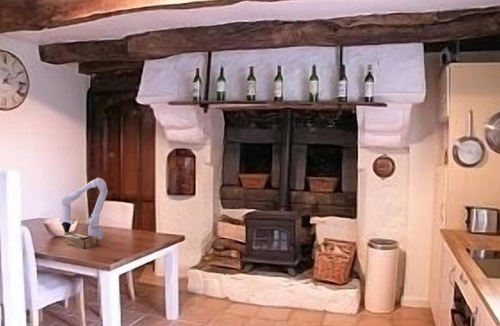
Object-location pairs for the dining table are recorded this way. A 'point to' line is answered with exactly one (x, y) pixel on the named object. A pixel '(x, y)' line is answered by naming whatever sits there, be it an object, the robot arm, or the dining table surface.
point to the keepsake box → (83, 242)
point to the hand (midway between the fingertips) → (66, 233)
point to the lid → (74, 235)
